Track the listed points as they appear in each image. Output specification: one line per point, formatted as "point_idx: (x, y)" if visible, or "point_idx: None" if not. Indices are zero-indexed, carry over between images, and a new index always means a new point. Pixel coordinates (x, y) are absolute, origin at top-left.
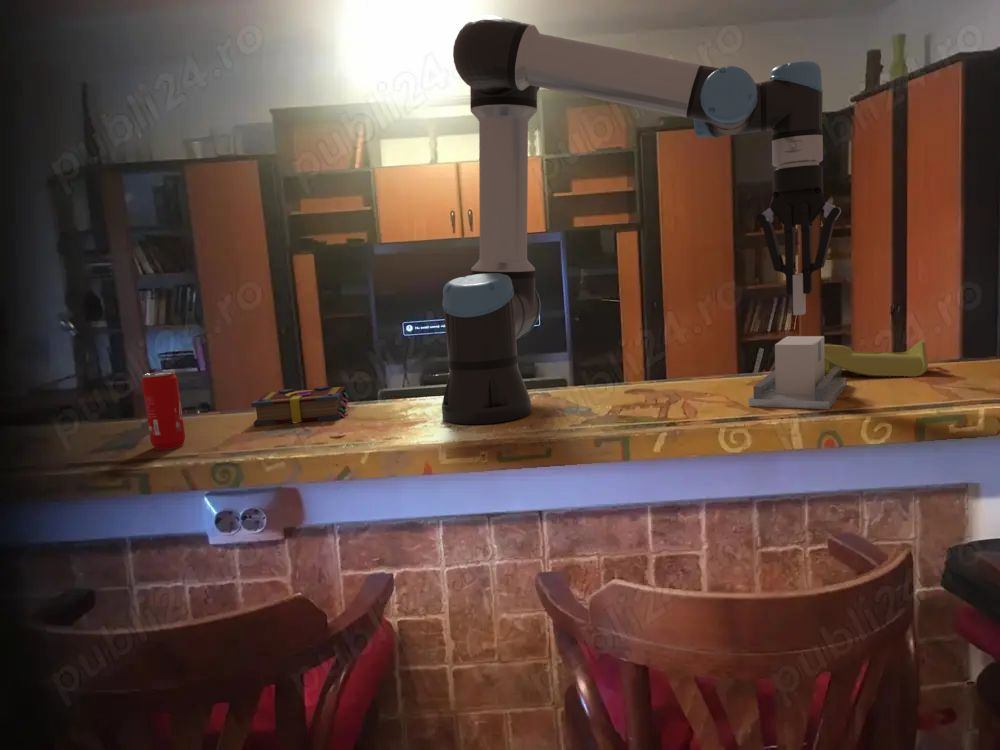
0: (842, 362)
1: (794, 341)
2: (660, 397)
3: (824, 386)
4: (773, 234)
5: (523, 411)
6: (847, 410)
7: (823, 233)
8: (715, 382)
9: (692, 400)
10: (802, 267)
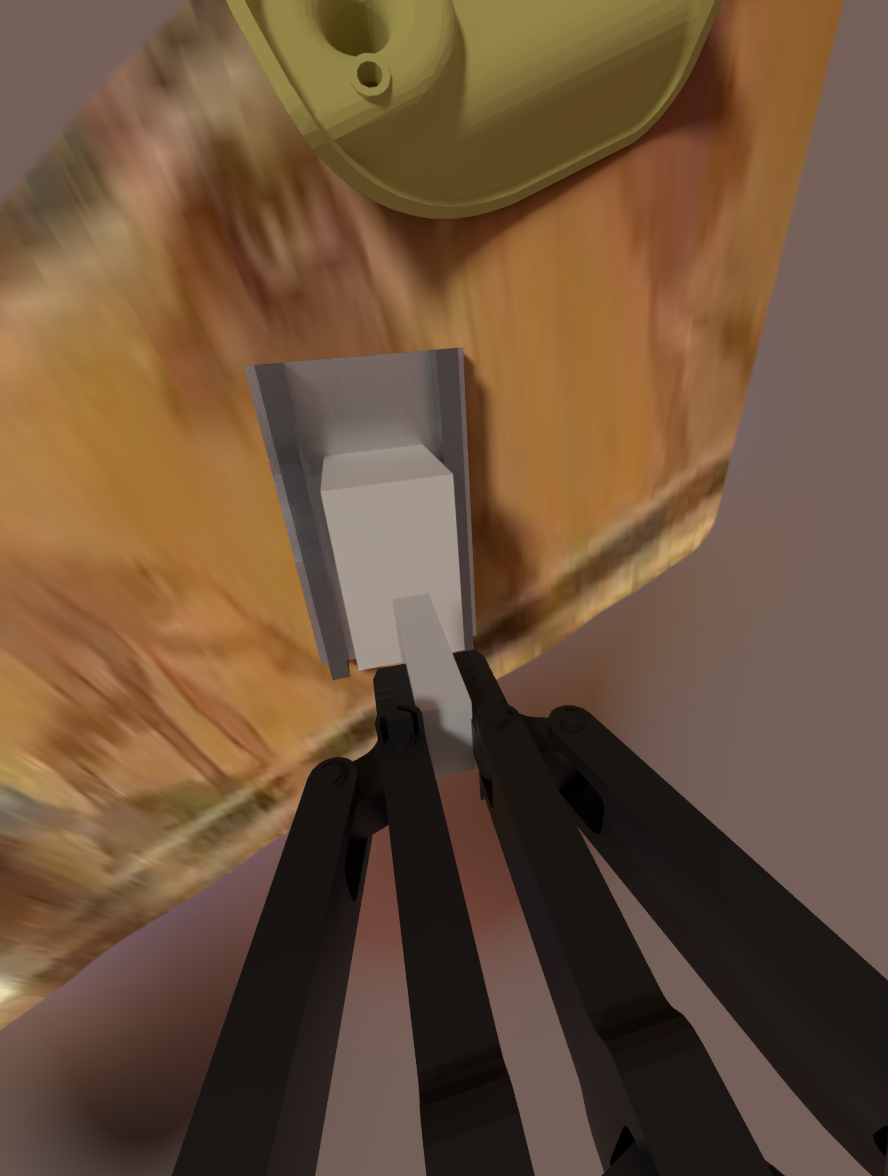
0: (431, 183)
1: (392, 606)
2: (64, 650)
3: (471, 633)
4: (305, 1156)
5: None
6: (502, 621)
7: (725, 989)
8: (43, 401)
9: (170, 650)
10: (486, 796)
